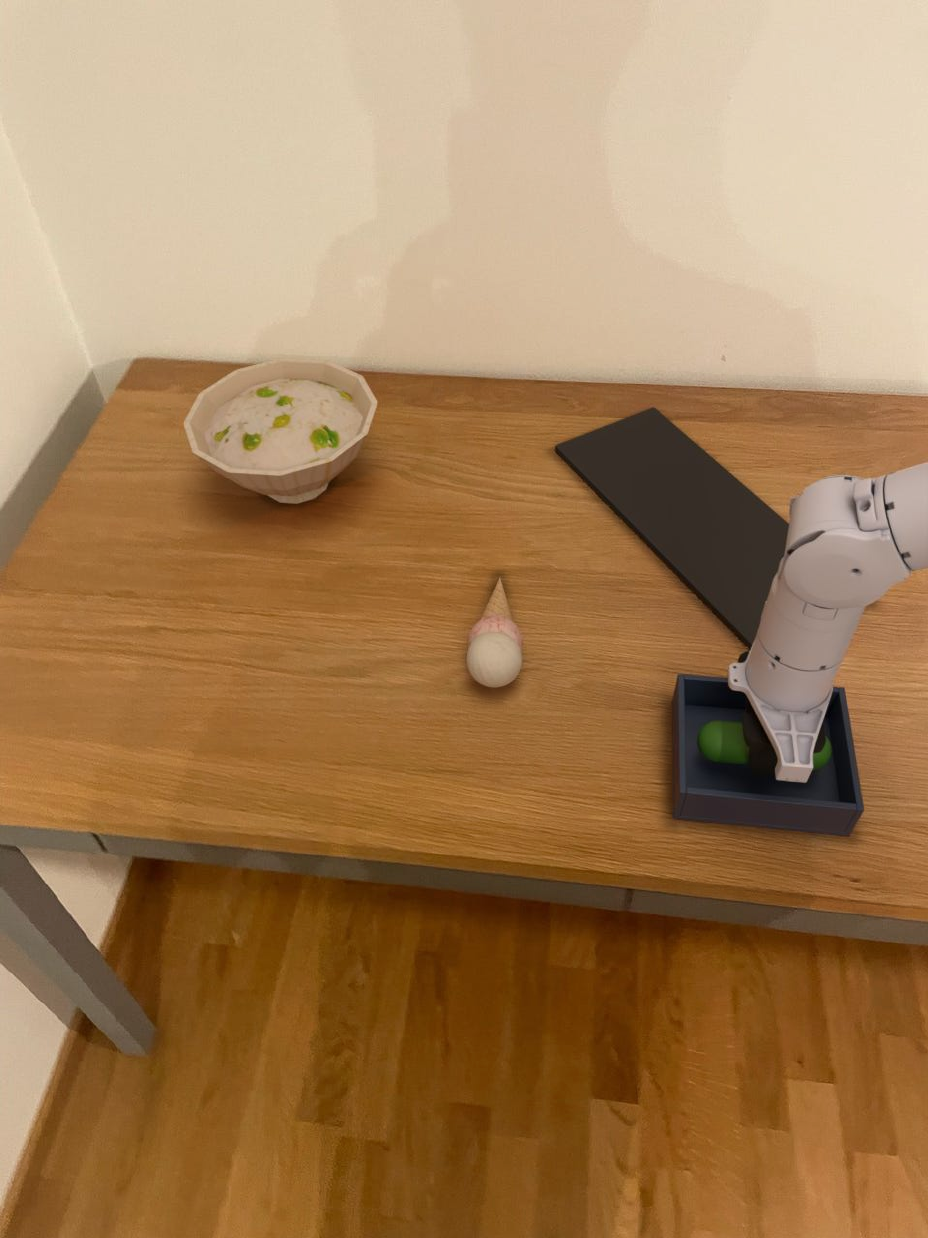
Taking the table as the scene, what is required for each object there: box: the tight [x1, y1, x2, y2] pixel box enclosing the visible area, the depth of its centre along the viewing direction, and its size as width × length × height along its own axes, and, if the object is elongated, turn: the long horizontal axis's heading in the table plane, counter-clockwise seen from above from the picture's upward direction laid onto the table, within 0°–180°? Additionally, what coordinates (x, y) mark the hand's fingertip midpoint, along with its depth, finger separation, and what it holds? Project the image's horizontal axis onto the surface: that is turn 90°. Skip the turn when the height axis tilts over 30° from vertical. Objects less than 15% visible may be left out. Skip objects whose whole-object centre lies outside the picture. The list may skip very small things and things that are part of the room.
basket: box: [671, 673, 865, 837], centre depth 72 cm, size 13×11×4 cm
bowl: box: [182, 357, 379, 505], centre depth 95 cm, size 19×19×10 cm
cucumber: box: [697, 721, 832, 770], centre depth 71 cm, size 10×3×3 cm, turn 82°
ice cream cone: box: [465, 577, 524, 688], centre depth 82 cm, size 5×5×15 cm
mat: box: [554, 406, 789, 651], centre depth 92 cm, size 33×13×1 cm, turn 29°
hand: (761, 749), depth 72 cm, fingers closed on cucumber, 3 cm apart
